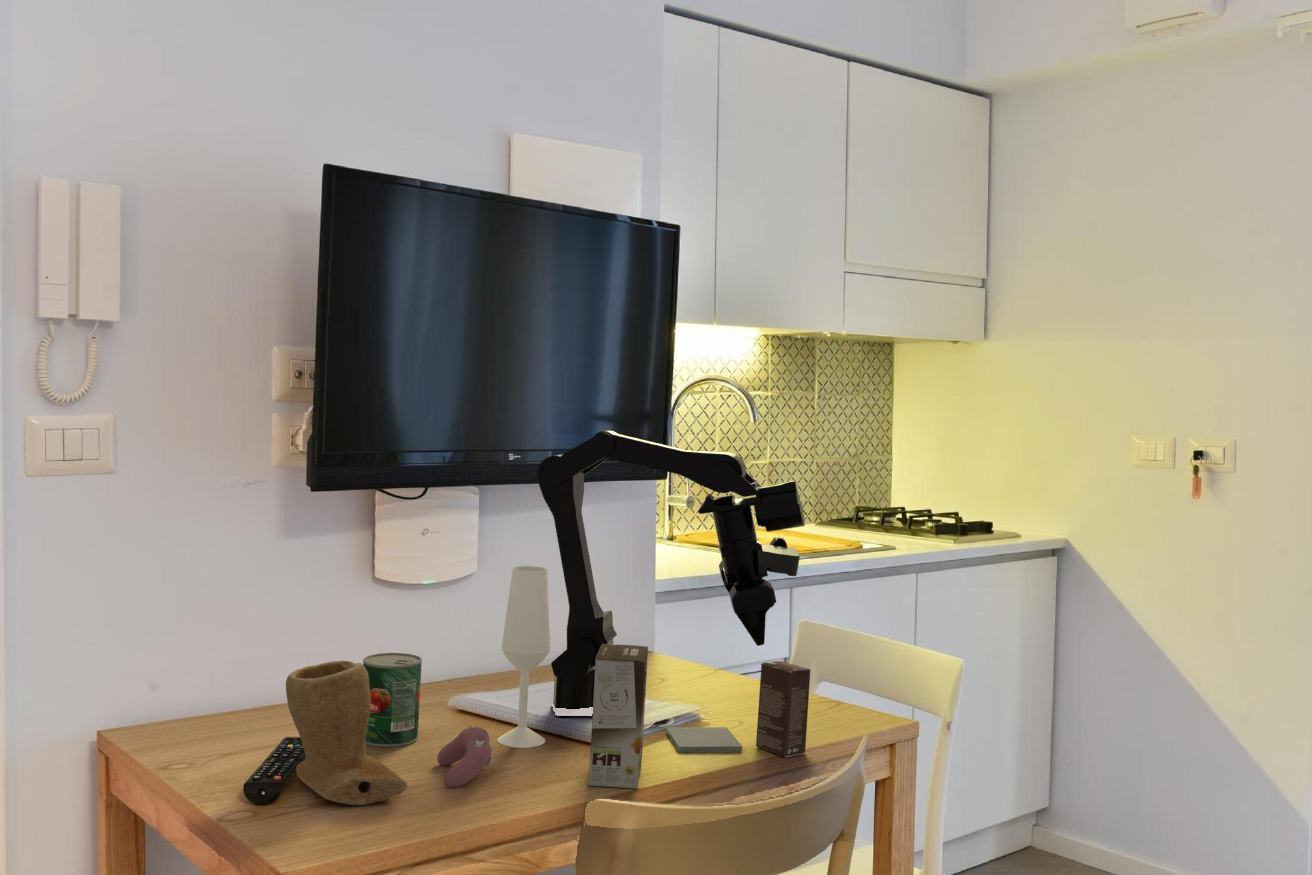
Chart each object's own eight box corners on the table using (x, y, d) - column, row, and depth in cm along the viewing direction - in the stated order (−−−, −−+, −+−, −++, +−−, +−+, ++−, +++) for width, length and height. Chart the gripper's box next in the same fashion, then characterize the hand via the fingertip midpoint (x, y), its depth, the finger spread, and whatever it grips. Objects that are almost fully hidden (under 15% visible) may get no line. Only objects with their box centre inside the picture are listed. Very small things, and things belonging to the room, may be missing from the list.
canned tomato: (347, 741, 154) (350, 660, 153) (381, 726, 161) (385, 649, 160) (396, 751, 151) (400, 668, 150) (429, 735, 158) (433, 657, 158)
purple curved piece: (474, 800, 138) (502, 749, 139) (441, 785, 137) (470, 733, 138) (464, 773, 148) (490, 725, 149) (433, 759, 147) (460, 710, 147)
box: (807, 753, 159) (812, 668, 159) (784, 758, 156) (789, 671, 156) (776, 742, 164) (781, 659, 163) (753, 746, 161) (758, 662, 160)
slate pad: (678, 752, 157) (679, 746, 156) (666, 732, 165) (666, 727, 165) (742, 751, 158) (742, 746, 158) (726, 732, 167) (726, 727, 167)
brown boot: (270, 777, 138) (275, 654, 138) (366, 764, 145) (371, 647, 144) (305, 819, 126) (311, 685, 125) (408, 803, 132) (415, 675, 132)
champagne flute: (505, 749, 154) (514, 573, 153) (490, 734, 160) (499, 565, 159) (552, 745, 157) (561, 572, 156) (536, 731, 163) (544, 564, 162)
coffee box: (639, 789, 141) (645, 661, 140) (587, 786, 141) (594, 658, 140) (642, 765, 150) (648, 645, 149) (593, 762, 150) (600, 642, 150)
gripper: (800, 540, 160) (820, 644, 162) (779, 510, 178) (797, 604, 181) (723, 557, 160) (744, 660, 162) (710, 525, 178) (729, 618, 181)
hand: (756, 634), depth 171 cm, fingers open, 9 cm apart
